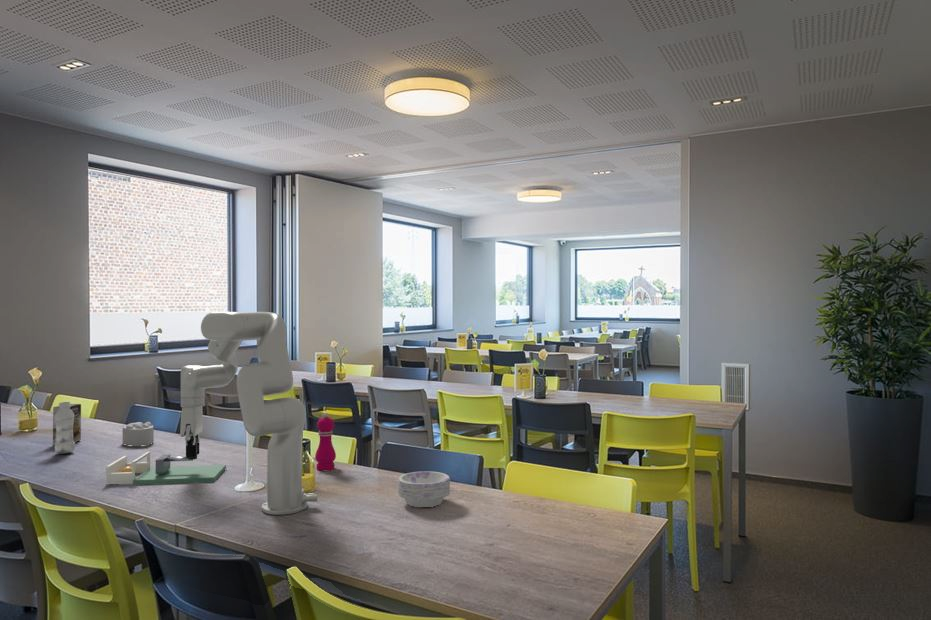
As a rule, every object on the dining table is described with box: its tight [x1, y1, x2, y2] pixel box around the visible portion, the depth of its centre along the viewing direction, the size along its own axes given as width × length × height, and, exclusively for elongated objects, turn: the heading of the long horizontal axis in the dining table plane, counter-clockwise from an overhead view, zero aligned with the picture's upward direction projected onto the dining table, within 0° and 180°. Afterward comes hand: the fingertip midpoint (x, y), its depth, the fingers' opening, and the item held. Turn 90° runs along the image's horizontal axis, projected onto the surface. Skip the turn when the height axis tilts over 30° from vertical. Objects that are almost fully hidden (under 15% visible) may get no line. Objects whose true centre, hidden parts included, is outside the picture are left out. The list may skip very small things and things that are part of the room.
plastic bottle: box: [54, 401, 76, 455], centre depth 237 cm, size 6×7×20 cm
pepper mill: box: [314, 412, 337, 472], centre depth 216 cm, size 7×7×20 cm
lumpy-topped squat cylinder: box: [122, 421, 155, 447], centre depth 255 cm, size 10×13×9 cm
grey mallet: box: [155, 437, 198, 474], centre depth 205 cm, size 12×7×11 cm, turn 98°
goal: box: [105, 451, 151, 486], centre depth 203 cm, size 9×14×7 cm, turn 8°
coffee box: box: [52, 403, 82, 446], centre depth 255 cm, size 9×6×16 cm
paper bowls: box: [397, 470, 451, 508], centre depth 178 cm, size 15×15×8 cm
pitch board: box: [132, 464, 227, 486], centre depth 206 cm, size 25×16×2 cm, turn 98°
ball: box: [121, 466, 132, 473], centre depth 203 cm, size 4×4×4 cm
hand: (192, 455), depth 206 cm, fingers closed on grey mallet, 2 cm apart
